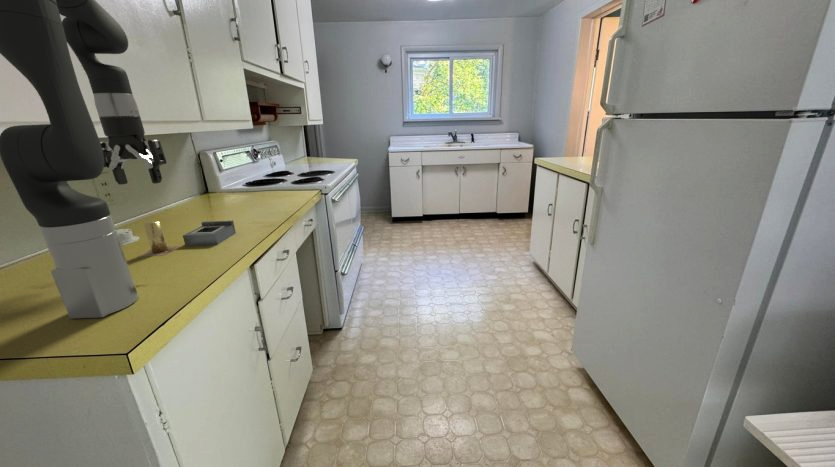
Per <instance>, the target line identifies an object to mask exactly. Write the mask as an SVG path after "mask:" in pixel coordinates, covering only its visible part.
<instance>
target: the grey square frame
mask: <svg viewBox="0 0 835 467" xmlns="http://www.w3.org/2000/svg"><path fill="white" fill-rule="evenodd" d="M236 233H237V232H236V227H235V223H234V220H212V221H211V220H210V221H202V222H201V226H199V227H197V228H195V229H192V230H190V231H189V232H187V233H185V234H183V235H182V237H183V241H184V245H185V247H191V246H193V247H194V246H218V245H220V244H221V243H223V242H225V241H227V240H228V239H229V238H231V237H232V236H234V235H236Z"/></svg>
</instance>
